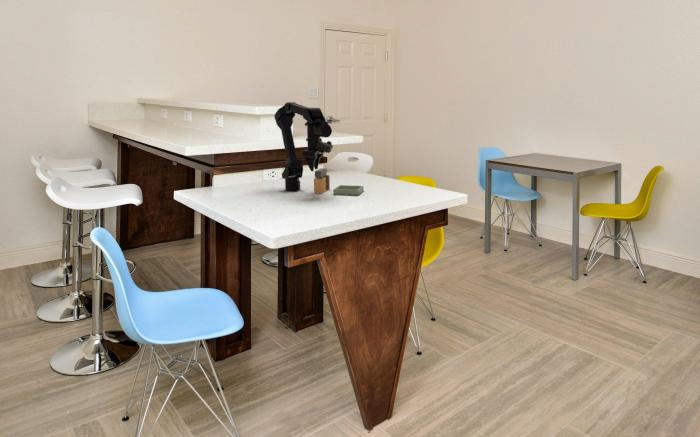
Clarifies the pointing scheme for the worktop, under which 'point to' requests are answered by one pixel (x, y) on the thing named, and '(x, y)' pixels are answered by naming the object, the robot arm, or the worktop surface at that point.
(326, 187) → the wood grain block
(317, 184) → the orange brown block
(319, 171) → the dark gray block
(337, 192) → the tray
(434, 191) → the worktop surface
